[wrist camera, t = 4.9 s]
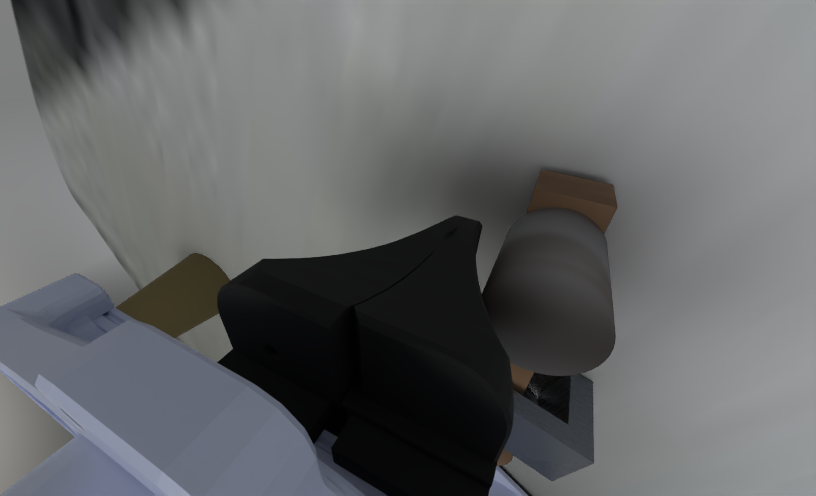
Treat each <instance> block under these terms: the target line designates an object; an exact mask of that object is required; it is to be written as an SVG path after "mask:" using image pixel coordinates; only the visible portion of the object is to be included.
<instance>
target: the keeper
mask: <svg viewBox="0 0 816 496" xmlns="http://www.w3.org/2000/svg"><path fill="white" fill-rule="evenodd" d="M513 395H514V416H513V426H512V430H511V434H510V436H509V439H508V441H507V443H506V445H505V447H504V449H505V450H506V451H508V452H509V453H511V454H512V455H514V456H515V457H517V458H518V459H520V460H521V461H523V462H524V463H526V464H527V465H529V466H530V467H532V468H533V469H535V470H536V471H537V472H539V473H540V474H542V475H543V476H545V477H546V478H548V479H549V480H551V481H553V480H556V479H558V478H560V477H563V476H565V475H567V474H570V473H572V472H575V471H577V470H579V469H582V468H584V467H586V466H589V465H591V464H593V463H594V434H593V382H592V381H590V380H588V379H587V378H585V377H583V376H582V375H580V374H576V375H568V376H562V377H560V378H559V379H558V380H556V381H555V382H554V383H552V384H551V385H550V386H548V387H547V388H546V389H544V390H543V391H542V392H540V393H539V398H538V405H537V404H535V403H533V402H532V401H530V400H529V399H527V398H526V397H524V396H522V395H521V394H519V393H518V392H516V391H515V390H513Z"/></svg>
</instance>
